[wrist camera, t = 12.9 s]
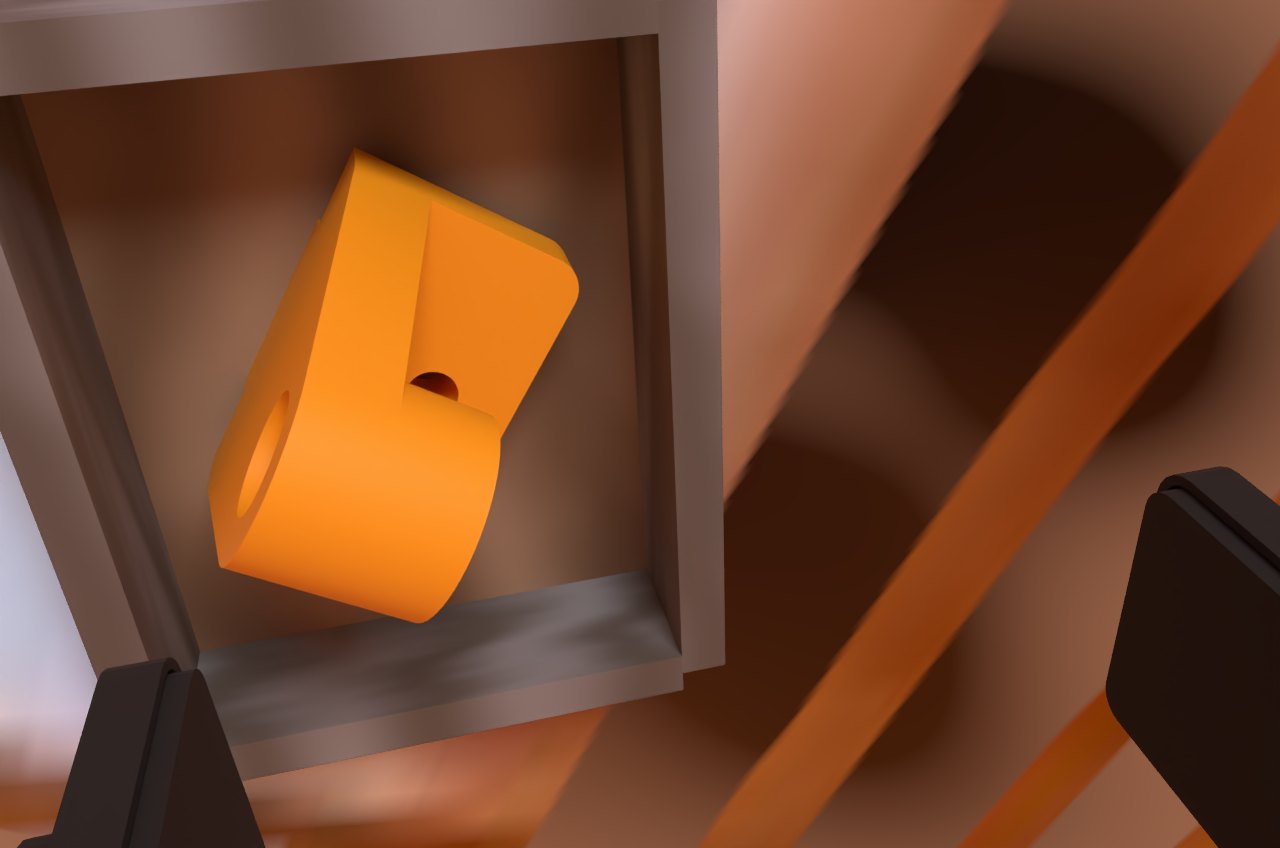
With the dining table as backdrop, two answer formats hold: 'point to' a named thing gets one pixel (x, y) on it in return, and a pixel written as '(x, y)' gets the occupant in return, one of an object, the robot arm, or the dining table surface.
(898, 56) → the dining table surface
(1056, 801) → the dining table surface
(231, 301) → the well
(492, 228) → the bracket
